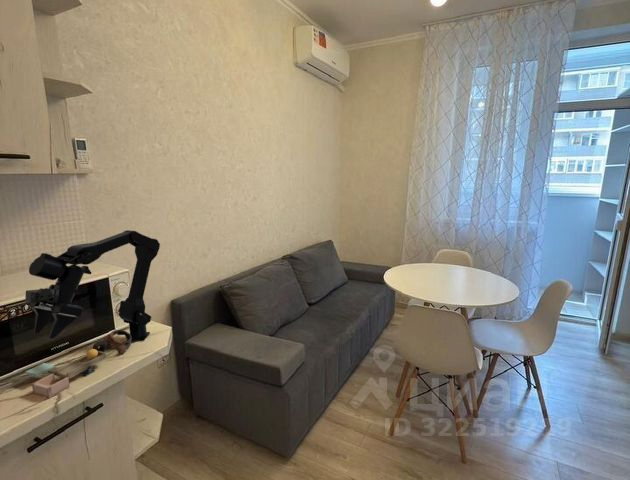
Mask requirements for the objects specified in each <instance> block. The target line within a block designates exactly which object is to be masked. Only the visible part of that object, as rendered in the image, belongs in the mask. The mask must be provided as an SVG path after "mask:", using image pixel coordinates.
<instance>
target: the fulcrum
mask: <svg viewBox="0 0 630 480" xmlns="http://www.w3.org/2000/svg"><path fill="white" fill-rule="evenodd" d="M93 373H96V370H95V369H93V367H92V368H88V369H86V370H84V371H82V372H81V373H79V374H78V375H79V376H83V377H88V376H89V375H91V374H93Z"/></svg>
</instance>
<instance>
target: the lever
mask: <svg viewBox="0 0 630 480" xmlns="http://www.w3.org/2000/svg"><path fill="white" fill-rule="evenodd" d="M106 358H107V356H106V353H105V352H101V351H98V355H97V357H96V358H94V359H89V358H88V357H87V354H85V355H83V356H81V357H79V358H77V359H76V360H73V361H71V362H69V363H67V364H65V365H63V366H61V367H56V366H55V365H54V364H50V363H46V362H43V363H40V364H39V365H37V366H35V367H33V368H30V369H28V370H26V371H25V374H26V375H27V376H28V375H29V376H32V377H36V378H38V377H39V376H41V375H44V374H45V373H47V374H48V375H51V374H54V376H56V377H60V378H63V379H64V378H66V377H68V378H69V380H70V379H71V378H73V377H75V376H77V375H79V373H81V372H82V371H84V370H86V369H88V368H92V369H93V367H94V366H96V364H99V363H101V362H102V361H104V360H106Z"/></svg>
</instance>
